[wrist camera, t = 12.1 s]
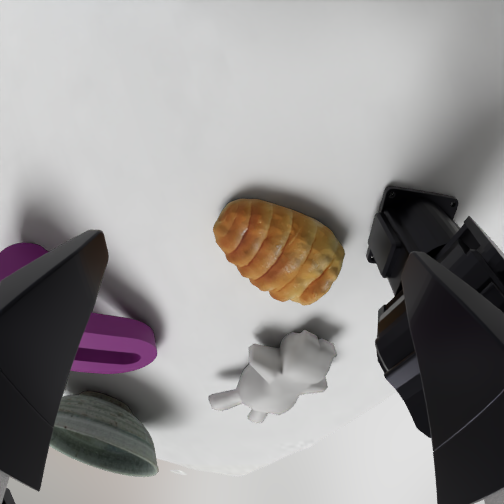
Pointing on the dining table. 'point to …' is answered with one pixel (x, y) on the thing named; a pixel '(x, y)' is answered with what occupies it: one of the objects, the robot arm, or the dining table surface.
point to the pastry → (279, 249)
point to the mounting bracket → (95, 328)
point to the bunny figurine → (279, 376)
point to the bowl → (103, 435)
